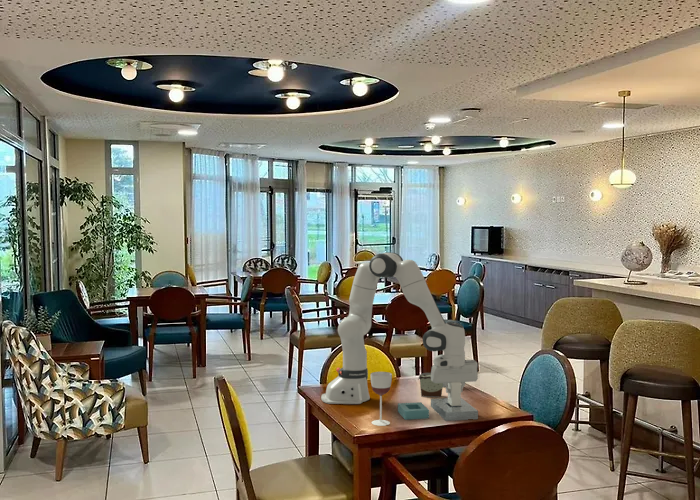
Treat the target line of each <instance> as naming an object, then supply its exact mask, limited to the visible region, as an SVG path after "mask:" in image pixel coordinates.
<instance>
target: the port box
mask: <svg viewBox="0 0 700 500" xmlns="http://www.w3.org/2000/svg"><path fill="white" fill-rule="evenodd" d="M430 407H431V409H432V410H433V411H435V413H437V414H438V415H439V416H440V417H441V418H442V419H443V420H444V421H446V422H451V421H452V422H453V421H469V420H468V419H473V420H478V419H479V411H478V409H476V408H475V407H474V406H472V405H471V404H470V403H468V402H467V401H466V400H465V399H464V398H462V397H461V406H451V405H450V404H449V403H448V397H446V398H442V397H440V398H430Z"/></svg>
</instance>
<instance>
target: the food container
mask: <svg viewBox="0 0 700 500" xmlns="http://www.w3.org/2000/svg"><path fill="white" fill-rule="evenodd" d="M418 381H419V385H420V395H421V397H422V398H423V397H424V398H442V395H443V389H444V388H443V383H433V382H432V381H431V372H425V373H421V374H419V376H418Z"/></svg>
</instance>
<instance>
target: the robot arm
mask: <svg viewBox="0 0 700 500" xmlns="http://www.w3.org/2000/svg"><path fill="white" fill-rule="evenodd" d="M392 277H394V278H395V279H396V280H397V282H399V285H400V289H401V291H402V293H403V295H404V297H405V299H406V300H407V302H409V303H410V304H412V305H413V306H416V307H419V308H420V309H421V310H422V311H423V312H424V314H425V316H426V318H427V320H428V322H429V325H430V326H431V329H429V330H427V331H426V332H424V334H423V336H422V340H421V341H422V344H423V346H424V348H425V350H428V351H429V352H440V351H442V352H443V356H441V357H438V358H435V357H434V358H433V360H432V362H433V365H432V366H431V371H430V373H431V381H432V382H433V383H443V384H444V386H445V388H444V389H445V392H446V393H447V394H448V393H450V391H451V389H450V388H448V387H447V385H448V383H451V382H461V393H463V391H464V390H463V388H464V387H465V385H466V383H469V382H470V383H471V382H477V381H478V379H479V378H478V377H479V375H478V362H477V361H476V360H475V359H466V351H465V345H466V333H465V332H466V331H465V329H464V326H463V325H462V324H461V323H458V322H455V321H448V322H446V321H445V319H444V317H443V315H442V313H441V311H440V309H439V307H438V305H437V303H436V301H435V299H434V297H433V295H432V293H431V290H430V289H429V287H428V284H427V282H426V279H425V277H424V275H423V272H422V271H421V269H420V267H419V265H418V264H417V262H416V261H415V260H413V259H403V257H402V256H401V255H400V254H398V253H396V252H381V253H377V254H375V255H374V256H373V257H371V259H370V261H369V262H368V261H365V262H362V263H360V264H359V265H358V267H357V269H356V272H355V274H354V277H353V281H352V286H351V290H350V295H349V298H348V302H349V313H348V315H347V316H346V317H344V318H343V319H342V320H341V321H340V323H339V324H338V326H337V334H338V336H339V337H340V343H341V349H342V367H341V368H340V367H336V372H337V373H338V374H337V377H335V378H334V379H333V380H331V381H330V382H329V383H328V384H327V386H326V390H325V393H322V394H321V397H320V400H321V401H322V402H323V403H325V404H330V405H331V404H332V405H334V404H335V405H336V404H337V405H339V404H341V405H342V404H343V405H360V404H362V403H363V402H367V401H369V400H370V398H371V397H370V393H369V388H368V378H369V376H368V375H369V373H368V372H369V370H368V364H367V363H368V362H367V361H368V358H367V357H368V356H367V355H368V354H367V353H368V351H367V349H366V346H365V341H364V339H365V338H364V336H365V335H366V334H368V333H369V332H370V331H371V328H372V315H373V314H372V313H373V305H374V300H375V295H376V292H377V286H378V283H379V281H380V279H382V278H384V279H385V278H392Z"/></svg>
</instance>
